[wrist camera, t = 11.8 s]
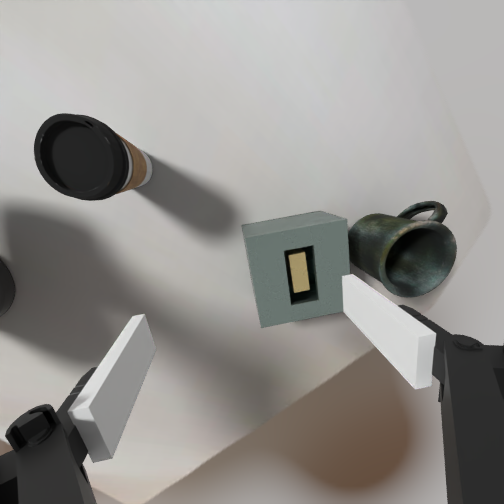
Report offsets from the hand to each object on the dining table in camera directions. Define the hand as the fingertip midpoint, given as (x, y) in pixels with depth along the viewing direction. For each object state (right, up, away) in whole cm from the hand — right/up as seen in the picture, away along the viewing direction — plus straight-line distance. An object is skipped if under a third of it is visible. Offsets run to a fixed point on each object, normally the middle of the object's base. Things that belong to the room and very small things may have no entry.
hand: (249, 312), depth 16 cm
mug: (+23, +7, +28) cm, 37 cm away
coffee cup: (-18, +17, +22) cm, 33 cm away
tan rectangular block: (+6, +3, +27) cm, 28 cm away
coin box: (+6, +3, +28) cm, 29 cm away
